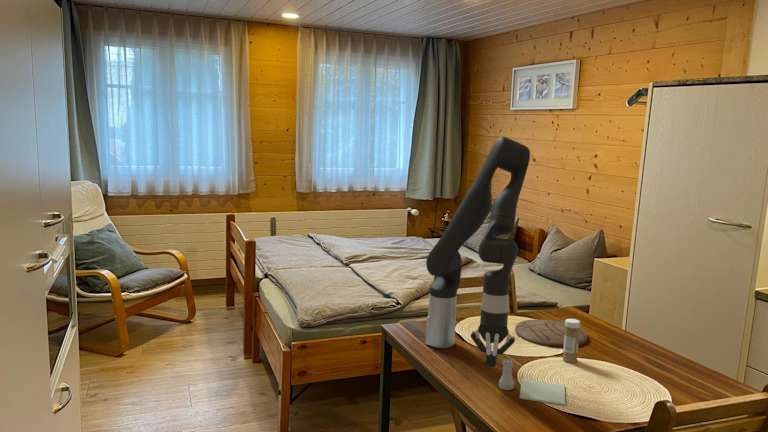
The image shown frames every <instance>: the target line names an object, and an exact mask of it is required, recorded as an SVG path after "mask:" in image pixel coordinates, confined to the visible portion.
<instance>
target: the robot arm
mask: <svg viewBox="0 0 768 432" xmlns="http://www.w3.org/2000/svg"><path fill="white" fill-rule="evenodd" d="M530 158H531V150H530V149H529V147H528V146H527V145H525V144H523V143H521V142H519V141H516V140H513V139H511V138H509V137H507V136H499V138H497V139H496V140H495V142H494V143H493V145H492V146H491V148H490V149H489V152H488V154H487V155H486V157H485V160H484V161H483V164H482V165H481V168H480V170H479V172H478V175H477V176H476V178H475V179H474V181H473V183H472V184H471V186H470V188H469V190H468V191H467V193H466V194H465V196H464V198H463V199H462V201H461V203H460V204H459V206H458V207H457V210H456V211H455V213H454V214H453V217H452V218H451V220H450V222H449V223H448V225H447V227H446V228H445V231H444V232H443V233H442V236H441V237H440V238H439V240H438V241H437V242H436V243H435V245H434V246H433V248H432V249H431V250H430V252H429V253H428V255H427V257H426V261H425V264H426V265H425V266H426V270H427V271H428V273H429V274H430V275H431V276H433V277H435V278H434V280H433V281H432V283H430V286H429V289H428V290H429V292H428V294H429V295H428V312H427V314H428V315H427V317H426V327H425V328H426V329H425V330H426V331H425V345H427V346H431V347H433V348H436V349H437V348H438V349H447V348H451V347H453V346H455V340H456V339H455V334H456V320H457V319H456V318H457V317H456V316H457V315H456V314H457V299H458V298H457V295H458V290H459V287H460V285H461V275H462V267H463V266H462V264H463V263H462V261H463V260H462V257H461V253H460V252H459V251H460V249H461V248H462V246H463V245H464V244H465V243H466V242H467V241H468V240H469V239H470V238H472V237H473V235H475V234H476V233H477V232H478V230H479V229H480V228H481V227H482V226H483V224H484V223H485V221H486V220H487V218H488V217H489V222H488V227H487V229H486V232H485V233H484V235H483V237H482V239H481V241H480V243H479V246H478V257H479V259H480V260H481V261H482V262H483V263H489V264H500V265H503V266H502V267H501V268H499V269H493V270H488V271H486V272H485V273H484V275H483V287H482V295H481V303H480V304H481V305H480V321H479V326H478V327H477V329H476V330H473V331H472V332H470V339H471V340H472V341H473V342H474V344H475V346H476V347H477V349H478V350H479V352H480V353H485V358H486V359H485V365H486V366H487V368H490V369H491V368H492V369H493V368H494V367H495V366H497V357H498V355H501V356H502V355H503V354H504V353H505V352H506V351H507V350H508V349H509V348H511V346H512V345H513V344H515V341H516V337H515V336H513V335H512V334H510V332H509V329H508V320H509V319H508V317H509V309H510V307H509V303H510V301H509V300H510V298H509V290H510V289H509V287H510V277H511V275H512V274H511V273H512V270H513V267H514V264H515V262H516V259H517V257H518V253H519V247H518V244H517V243H516V241H515V240H514V239H511V238H501V236H506V235H510V234H512V233H513V232H514V229H515V221H516V215H517V208H518V207H517V206H518V202H519V199H520V195H521V192H522V187H523V184H524V180H525V178H526V174H527V171H528V168H529V163H530ZM497 169H500V170H502V171H505V172H507V173H510V179H509V182H508V184H507V185H506V186H505V187H504V189H503V190H501V191H500V192H499V193H498V194H497V195H496V196H495V198H494V200H493V197H492V180H493V178H494V175H495V172H496V171H497ZM489 215H490V216H489ZM480 336H481V337H480ZM481 338H482V339H483V341H484V342H485V344H484V342H483V341H482V339H481ZM505 338H506V339H505ZM504 340H505V343H504V344H503V345H502V346H500V348H499V345H500V344H501V343H502V342H503V341H504ZM492 345H493V346H492Z"/></svg>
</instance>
